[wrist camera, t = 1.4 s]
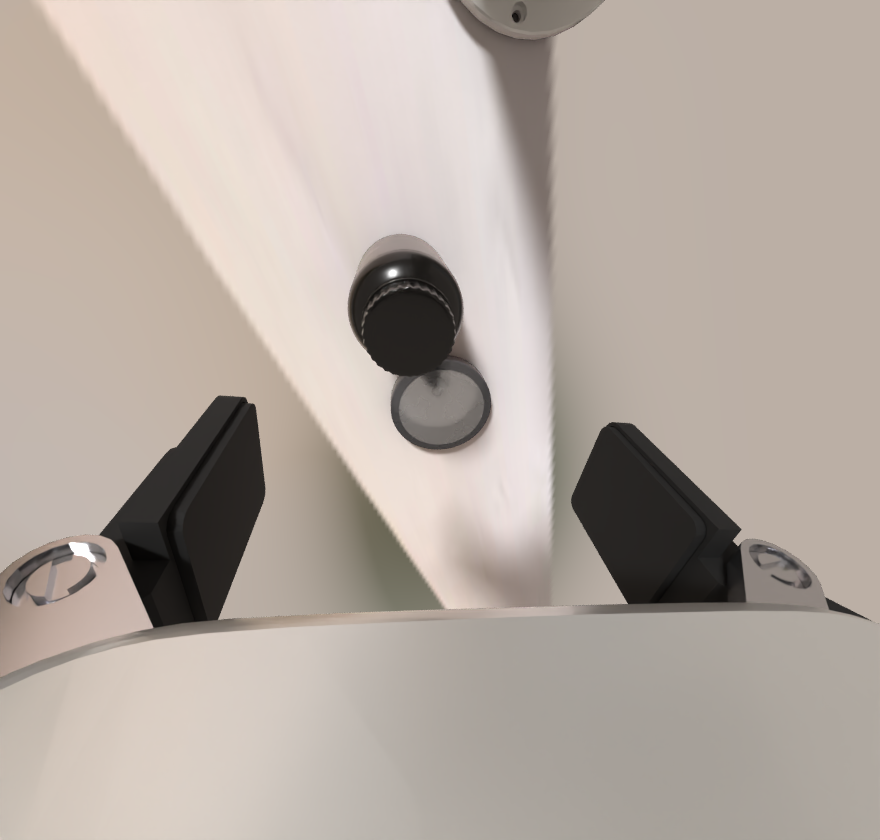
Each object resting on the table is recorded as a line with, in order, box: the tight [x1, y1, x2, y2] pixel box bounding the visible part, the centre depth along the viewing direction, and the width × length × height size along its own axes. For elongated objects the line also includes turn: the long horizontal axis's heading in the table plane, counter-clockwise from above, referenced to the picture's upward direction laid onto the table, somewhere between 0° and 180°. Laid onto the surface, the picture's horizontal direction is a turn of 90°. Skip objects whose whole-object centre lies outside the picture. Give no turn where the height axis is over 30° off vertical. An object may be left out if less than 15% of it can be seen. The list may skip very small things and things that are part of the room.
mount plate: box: [391, 355, 491, 449], centre depth 34 cm, size 9×9×2 cm
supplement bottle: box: [348, 234, 464, 377], centre depth 24 cm, size 7×7×12 cm
